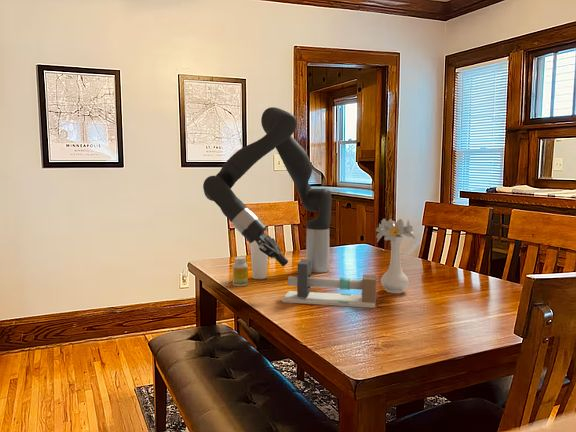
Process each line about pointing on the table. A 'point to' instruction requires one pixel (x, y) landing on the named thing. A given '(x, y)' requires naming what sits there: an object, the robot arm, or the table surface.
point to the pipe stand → (336, 299)
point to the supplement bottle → (240, 272)
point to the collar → (303, 277)
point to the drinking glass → (258, 262)
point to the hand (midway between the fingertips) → (286, 264)
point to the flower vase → (394, 254)
